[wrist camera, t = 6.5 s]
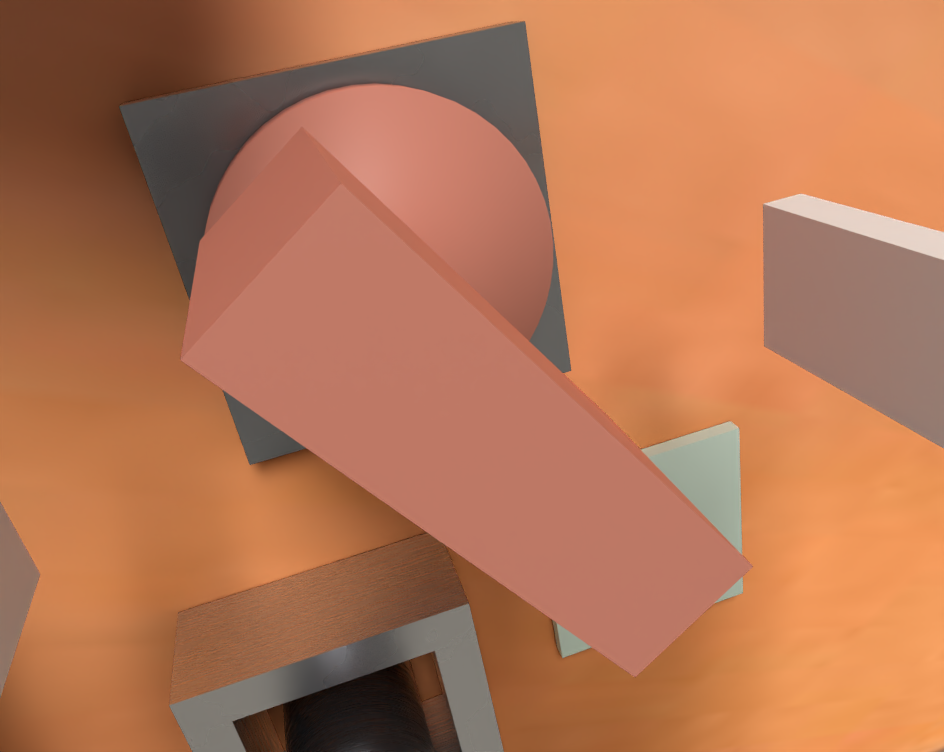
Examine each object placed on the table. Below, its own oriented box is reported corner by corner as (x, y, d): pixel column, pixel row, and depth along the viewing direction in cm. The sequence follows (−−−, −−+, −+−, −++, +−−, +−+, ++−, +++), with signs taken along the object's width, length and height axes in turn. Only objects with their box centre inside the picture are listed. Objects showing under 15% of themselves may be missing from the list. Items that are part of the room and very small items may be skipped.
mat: (557, 647, 27) (562, 658, 27) (529, 485, 24) (534, 493, 24) (735, 584, 28) (743, 593, 28) (730, 421, 25) (739, 428, 25)
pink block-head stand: (126, 276, 17) (5, 551, 8) (372, -2, 16) (543, -39, 7) (398, 475, 21) (520, 809, 12) (608, 259, 20) (909, 446, 11)
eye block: (258, 787, 26) (262, 889, 23) (178, 612, 22) (168, 705, 19) (481, 706, 27) (513, 792, 24) (438, 529, 24) (469, 603, 21)
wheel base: (249, 446, 21) (250, 470, 20) (124, 102, 17) (117, 107, 16) (558, 357, 22) (575, 374, 21) (511, 21, 18) (529, 21, 17)
